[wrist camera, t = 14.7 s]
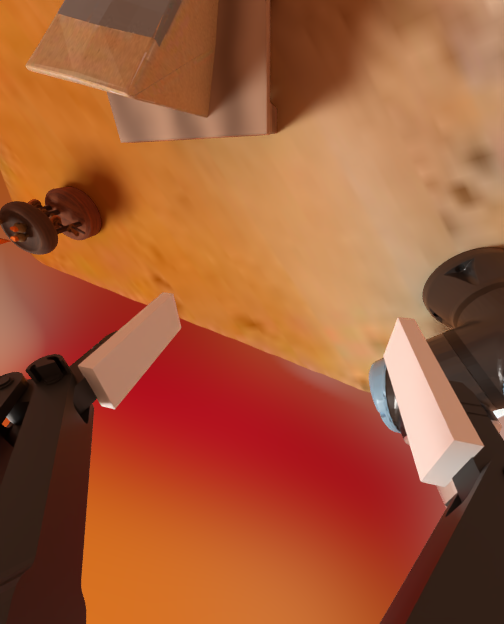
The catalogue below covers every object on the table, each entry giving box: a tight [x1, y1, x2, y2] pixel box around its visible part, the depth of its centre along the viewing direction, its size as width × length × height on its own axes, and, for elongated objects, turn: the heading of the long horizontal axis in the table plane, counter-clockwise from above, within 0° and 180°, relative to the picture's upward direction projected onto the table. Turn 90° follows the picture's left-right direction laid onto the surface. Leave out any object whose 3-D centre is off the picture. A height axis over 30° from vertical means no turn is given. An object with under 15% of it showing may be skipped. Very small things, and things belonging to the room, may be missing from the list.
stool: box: [107, 0, 277, 143], centre depth 30 cm, size 20×18×12 cm
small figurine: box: [0, 187, 101, 254], centre depth 46 cm, size 15×11×20 cm
